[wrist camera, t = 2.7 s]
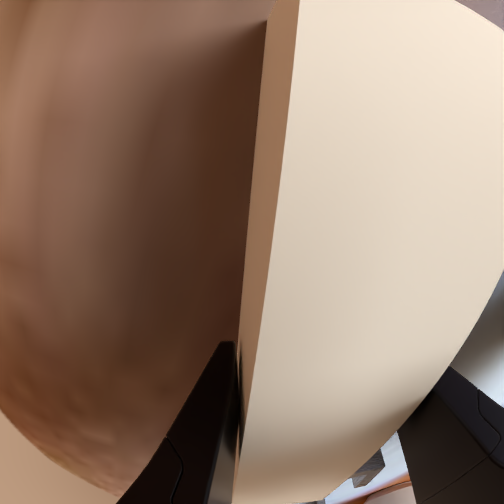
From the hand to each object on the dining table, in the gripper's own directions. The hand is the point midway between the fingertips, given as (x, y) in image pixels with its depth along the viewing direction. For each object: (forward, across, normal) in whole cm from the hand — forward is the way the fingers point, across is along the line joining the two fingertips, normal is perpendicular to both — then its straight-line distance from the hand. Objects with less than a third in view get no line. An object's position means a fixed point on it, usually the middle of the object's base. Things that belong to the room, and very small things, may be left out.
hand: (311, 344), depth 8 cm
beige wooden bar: (+1, 0, 0) cm, 1 cm away
